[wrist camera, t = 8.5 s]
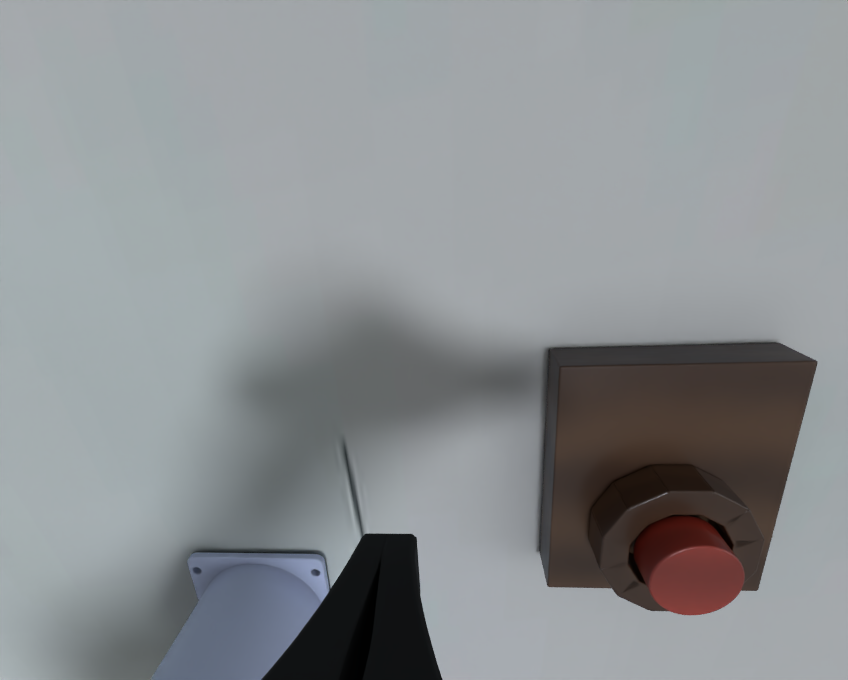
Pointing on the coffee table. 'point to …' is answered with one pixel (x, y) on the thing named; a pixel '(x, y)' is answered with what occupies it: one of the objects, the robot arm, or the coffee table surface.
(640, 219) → the coffee table surface
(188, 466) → the coffee table surface
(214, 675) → the robot arm
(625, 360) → the switch block
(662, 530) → the button
